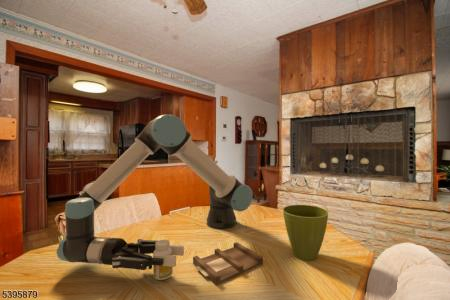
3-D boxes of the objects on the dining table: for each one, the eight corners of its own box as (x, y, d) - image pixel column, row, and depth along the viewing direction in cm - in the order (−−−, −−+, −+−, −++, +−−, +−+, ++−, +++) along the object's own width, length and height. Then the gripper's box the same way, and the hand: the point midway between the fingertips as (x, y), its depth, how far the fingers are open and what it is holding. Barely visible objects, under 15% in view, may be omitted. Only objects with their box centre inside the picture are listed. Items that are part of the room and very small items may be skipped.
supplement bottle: (176, 271, 65) (175, 239, 65) (165, 282, 60) (164, 247, 60) (161, 268, 67) (160, 237, 67) (149, 278, 62) (148, 245, 62)
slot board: (190, 264, 71) (190, 257, 71) (236, 248, 82) (236, 242, 82) (212, 286, 60) (212, 278, 59) (263, 263, 71) (263, 256, 71)
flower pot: (325, 272, 66) (325, 220, 65) (277, 259, 73) (277, 212, 73) (331, 251, 78) (330, 208, 78) (289, 242, 86) (289, 203, 86)
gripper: (127, 248, 76) (190, 253, 72) (84, 281, 58) (166, 289, 54) (126, 227, 76) (189, 230, 72) (83, 253, 57) (165, 259, 54)
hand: (179, 255), depth 63 cm, fingers closed on supplement bottle, 5 cm apart
